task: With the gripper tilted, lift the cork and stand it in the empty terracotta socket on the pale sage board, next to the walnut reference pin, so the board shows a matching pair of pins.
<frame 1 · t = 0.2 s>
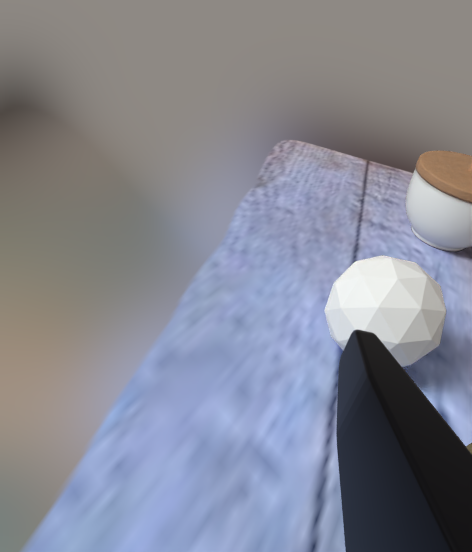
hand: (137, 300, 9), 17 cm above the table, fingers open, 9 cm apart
lidded jar: (437, 236, 47), on the table
faceted white bauble: (375, 338, 33), on the table
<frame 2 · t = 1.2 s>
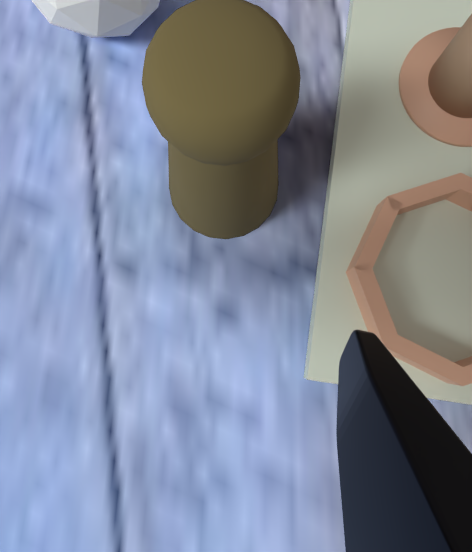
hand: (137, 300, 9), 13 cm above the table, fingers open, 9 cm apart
cork: (224, 187, 23), on the table
pin board: (436, 282, 23), on the table
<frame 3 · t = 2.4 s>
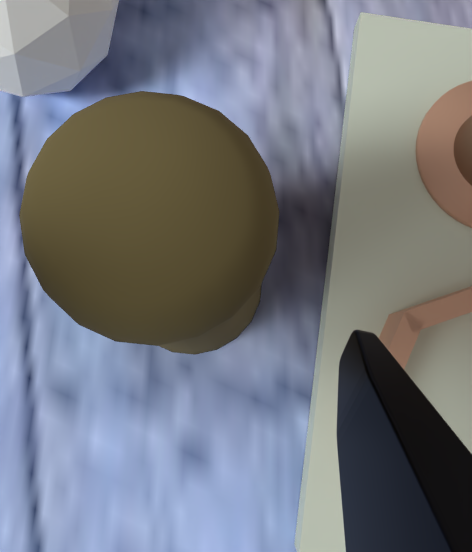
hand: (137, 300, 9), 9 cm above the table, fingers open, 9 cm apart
cork: (192, 283, 18), on the table
faceted white bauble: (69, 22, 20), on the table
pin board: (466, 410, 17), on the table
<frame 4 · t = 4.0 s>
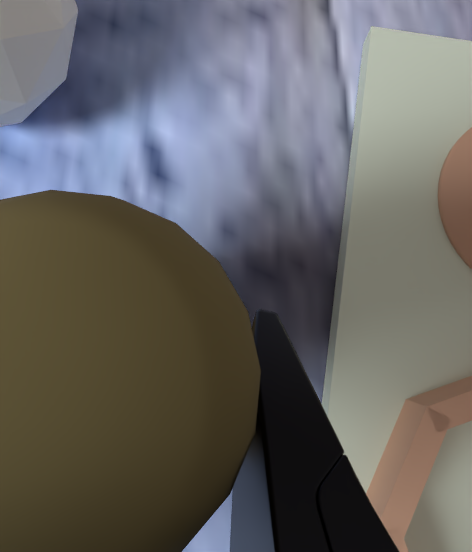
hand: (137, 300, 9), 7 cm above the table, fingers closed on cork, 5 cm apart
cork: (168, 354, 15), on the table, touching gripper
faceted white bauble: (25, 37, 17), on the table
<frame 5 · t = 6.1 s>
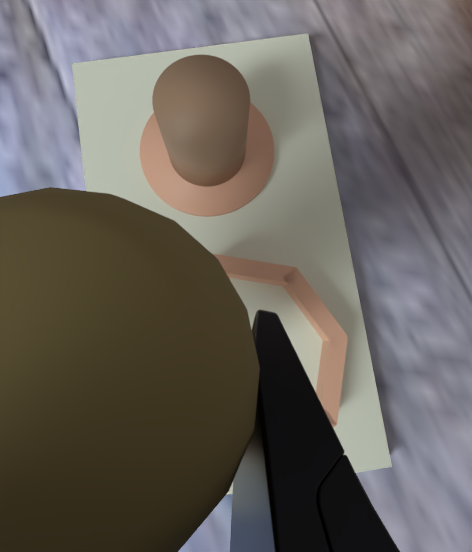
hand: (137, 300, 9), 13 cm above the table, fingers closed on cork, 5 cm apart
cork: (168, 353, 15), point 6 cm above the table, touching gripper
pin board: (237, 359, 22), on the table
when the fingers open (8 cm above the table, at t = 8.4 s): cork stays where it is, resting on pin board.
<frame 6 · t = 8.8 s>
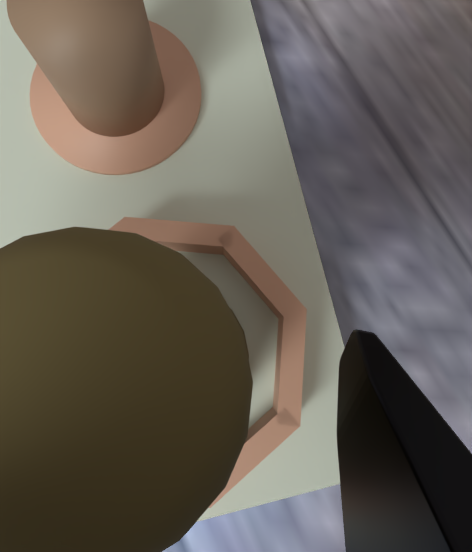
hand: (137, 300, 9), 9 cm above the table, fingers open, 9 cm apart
cork: (170, 359, 16), point 1 cm above the table, touching pin board
pin board: (174, 352, 17), on the table
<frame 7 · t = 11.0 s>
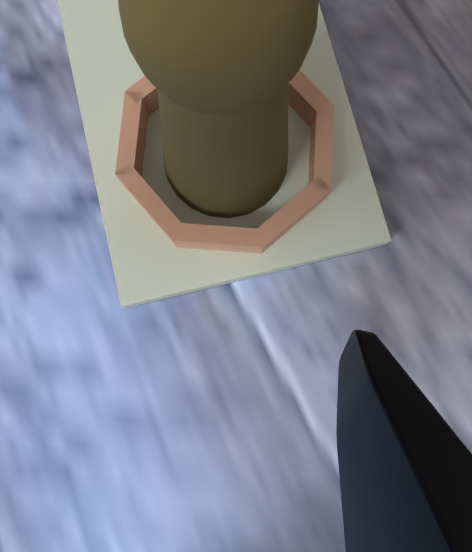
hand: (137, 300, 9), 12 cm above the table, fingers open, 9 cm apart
cork: (225, 159, 20), point 1 cm above the table, touching pin board
pin board: (227, 162, 21), on the table
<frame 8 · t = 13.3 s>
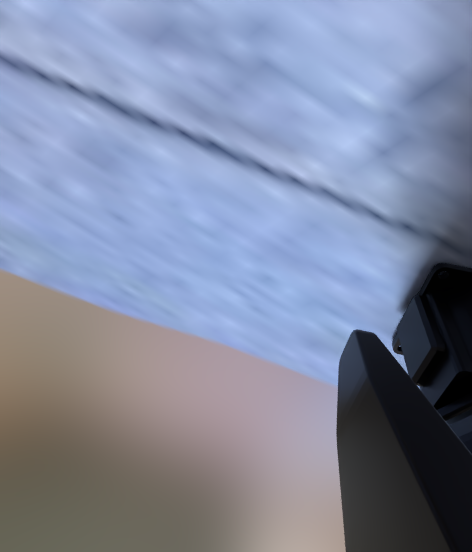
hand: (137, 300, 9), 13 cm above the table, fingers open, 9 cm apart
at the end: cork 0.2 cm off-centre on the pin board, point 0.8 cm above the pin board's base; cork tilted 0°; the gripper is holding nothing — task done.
